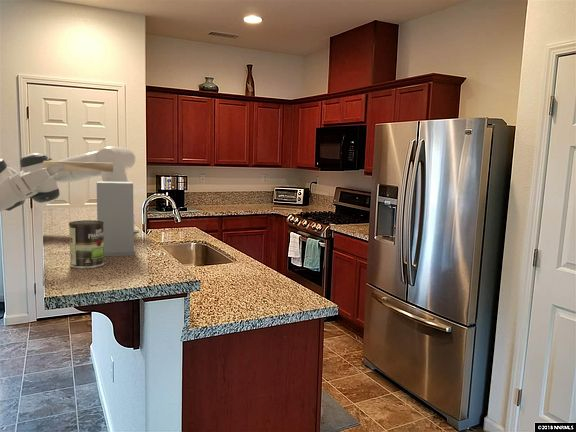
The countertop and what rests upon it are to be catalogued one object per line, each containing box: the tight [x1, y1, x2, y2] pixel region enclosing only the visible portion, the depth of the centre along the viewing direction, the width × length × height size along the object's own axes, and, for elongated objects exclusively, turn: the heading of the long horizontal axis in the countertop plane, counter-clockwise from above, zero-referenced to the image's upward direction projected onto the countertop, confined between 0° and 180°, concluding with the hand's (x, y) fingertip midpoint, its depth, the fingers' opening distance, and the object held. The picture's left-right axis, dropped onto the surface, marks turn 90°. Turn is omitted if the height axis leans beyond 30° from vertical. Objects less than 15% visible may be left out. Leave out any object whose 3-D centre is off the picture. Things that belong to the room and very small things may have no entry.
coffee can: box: [68, 219, 105, 270], centre depth 145 cm, size 10×10×14 cm
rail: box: [43, 160, 113, 172], centre depth 156 cm, size 4×22×3 cm, turn 110°
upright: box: [96, 180, 136, 257], centre depth 162 cm, size 9×13×26 cm
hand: (64, 164), depth 154 cm, fingers closed on rail, 3 cm apart
